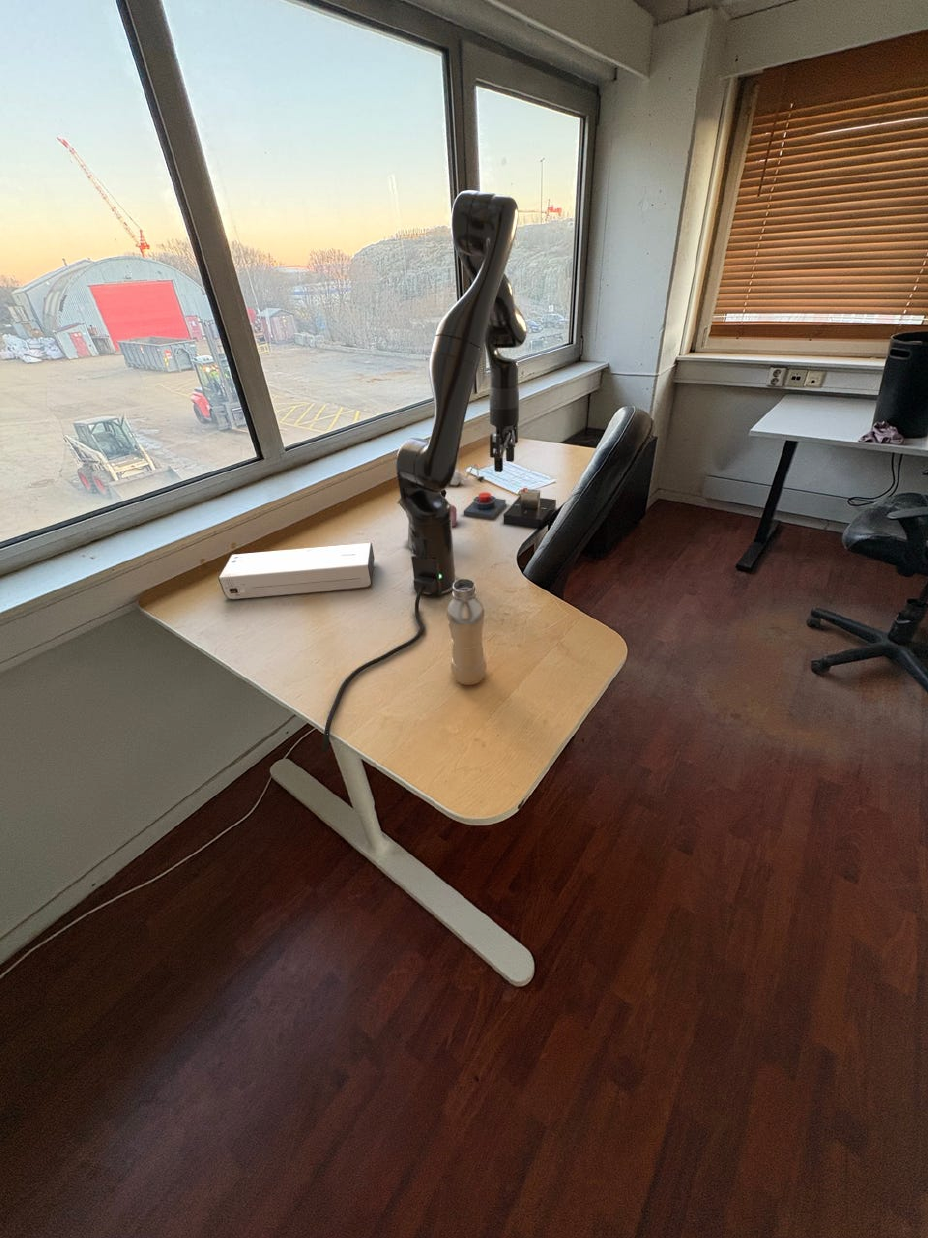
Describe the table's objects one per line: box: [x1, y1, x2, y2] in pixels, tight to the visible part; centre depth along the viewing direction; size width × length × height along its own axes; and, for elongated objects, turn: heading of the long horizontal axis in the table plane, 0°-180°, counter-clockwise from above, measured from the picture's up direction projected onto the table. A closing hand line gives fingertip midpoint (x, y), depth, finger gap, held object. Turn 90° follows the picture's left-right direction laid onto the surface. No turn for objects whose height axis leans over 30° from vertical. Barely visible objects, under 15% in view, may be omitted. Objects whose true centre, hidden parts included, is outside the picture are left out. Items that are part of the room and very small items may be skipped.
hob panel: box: [503, 495, 557, 530], centre depth 144 cm, size 14×11×3 cm
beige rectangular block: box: [520, 487, 541, 509], centre depth 142 cm, size 5×2×5 cm, turn 65°
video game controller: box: [449, 502, 458, 528], centre depth 143 cm, size 10×5×7 cm, turn 84°
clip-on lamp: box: [449, 463, 485, 486], centre depth 169 cm, size 12×6×18 cm
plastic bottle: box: [446, 578, 488, 686], centre depth 86 cm, size 6×7×20 cm
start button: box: [478, 492, 492, 502], centre depth 148 cm, size 4×4×2 cm
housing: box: [463, 495, 507, 521], centre depth 149 cm, size 11×9×4 cm
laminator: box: [217, 542, 375, 601], centre depth 120 cm, size 34×12×6 cm, turn 95°
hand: (504, 466), depth 140 cm, fingers open, 8 cm apart
